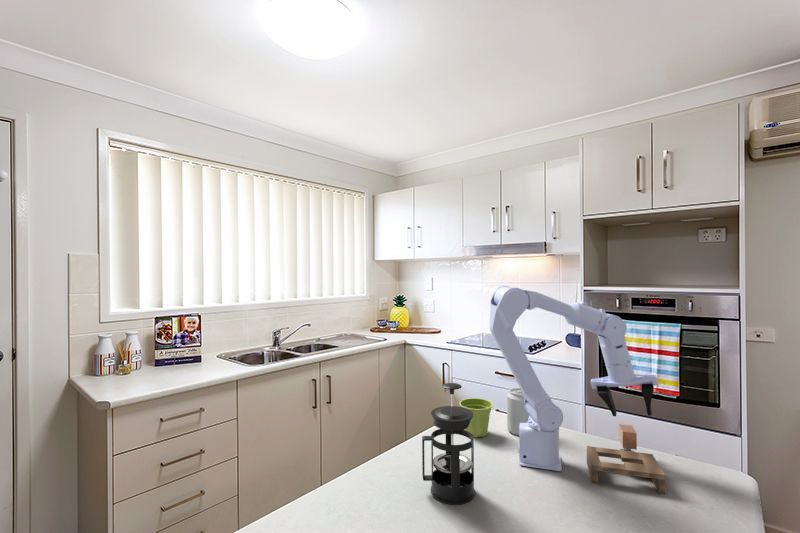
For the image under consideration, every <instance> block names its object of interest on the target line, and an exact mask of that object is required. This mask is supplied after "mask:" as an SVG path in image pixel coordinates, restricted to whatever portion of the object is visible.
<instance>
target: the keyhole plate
mask: <svg viewBox="0 0 800 533" xmlns="http://www.w3.org/2000/svg"><path fill="white" fill-rule="evenodd" d="M600 457H604V458H610V459H611V458H612V459H619V460H621V462H623V463H617V462H610V461H609V462H608V461H601V459H600ZM586 465H587V470H588V473H589V477H590V481H591V484H595V485H598V484H599V471H600V472H606V473H613V474H620V475H626V476H634V477H640V478H649V479H650V480H651V482H652V484H653V485H654V487H655V489H656V491H657V493H658V494H661V495H666V475H665V473H664V471H663V470H662V467H661V466H660V464H659V462H658V461H657V460H656V457H655V456H654V454H653V453H648V452H647V453H646V452H638V451H634V452H631V451H623V450H620V449H614V448H607V447H599V446H589V445H586Z"/></svg>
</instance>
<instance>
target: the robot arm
mask: <svg viewBox="0 0 800 533" xmlns="http://www.w3.org/2000/svg"><path fill="white" fill-rule="evenodd" d="M489 306H490V310H489V312H490V314H489V331H490V332H491V335H492V337H493V338H494V340H495V342H496V344H497V346H498V348H499V350H500V352H501V353H502V355H503V357H504V359H505V362H506V363H507V366H508V367H509V370H510V371H511V374H512V375H513V377H514V379H515V380H516V383H517V385H518V386H519V387H518V388H521V390H522V396H523V398H524V402H525V410H526V412H527V413H528V414H529V419H528V423H520V428H519V436H518V438H519V439H518V440H519V444H518V445H517V446H518V449H517V450H518V451H517V453H518V454H519V455H518V456H519V466H522V467H530V468H535V469H542V470H550V471H554V472H555V471H556V472H562V471H563V469H562V460H561V455H560V427H561V426H562V424H563V422H564V413H563V411H562V409H561V408H560V407H559V406H558V405H557V404H555V403H554V402H553V400H552V398H551V396H550V395H549V394H548V393H547V391H546V390H545V388H544V387H543V386H542V383H541V382H540V380H539V378H538V376H537V374H536V372H535V370H534V369H533V366H532V365H531V363H530V360H529V359H528V356H527V354H526V353H525V350H524V348H523V347H522V345H521V343H520V341H519V338H518V337H517V335H516V333H515V331H514V327H515V325H516V323H517V320H518V319H519V318H520V317H521V316H522V315H523V314H524V313H525V311H526V310H530V311H532V310H535V309H537V308H538V309H541V310H544V311H547V312H550V313H553V314H556V315H559V316H563V317H564V319H565V321H566V323H567V324H569V325H570V326H574V327H577V328H579V329H582V330H584V331H588V332H590V333H593V334H595V335H597V338H598V342H599V346H600V349H601V353H602V357H603V360H604V361H603V362H604V364H605V368H606V371H607V376H603V377H598V378H596V377H595V378H591V380H590V386H591V389H592V390H596V393H597V395H598V397H600V398H601V399H602V401H603V402H604V403H605V404H606V406H607V407H608V408H609V411H610V412H611V414H612V417H617V408H616V405H615V403H614V399H613V396H612V390H611V388H616V387H620V388H621V387H634V386H636V387H637V386H641V389H640V391H641V394H642V397H643V400H644V403H645V407H646V408H645V410H646V413H647V416H649V417H652V414H653V413H652V407H651V405H652V398H653V395H654V386H655V387H657V386H659V380H658V377H657V374H641V373H640V374H638V373H636V374H635V371H634V367H633V364H632V359H631V357H630V353H629V350H628V349H629V348H628V346H627V345H628V344H627V341H626V336H625V335H626V333H627V330H628V326H627V323H625V321H624V319H622V318H621V317H620V316H618V315H615V314H610V313H606V310H605V309H603V308H599V309H597V308H594V307H591V306H590V305H588V303H587V302H584V301H582V300H581V301H579V302H578V301H575V302H572V303H570V304H568V303H566V302H564V301H560V300H558V299H556V298H552V297H550V296H548V295H545V294H543V293H541V292H538V291H534V290H527V289H523V288H520V287H511V286H509V285H502V286H499V287H497V288H496V289H495V290H494V292H493V294H492V296H491V298H490V300H489Z"/></svg>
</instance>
